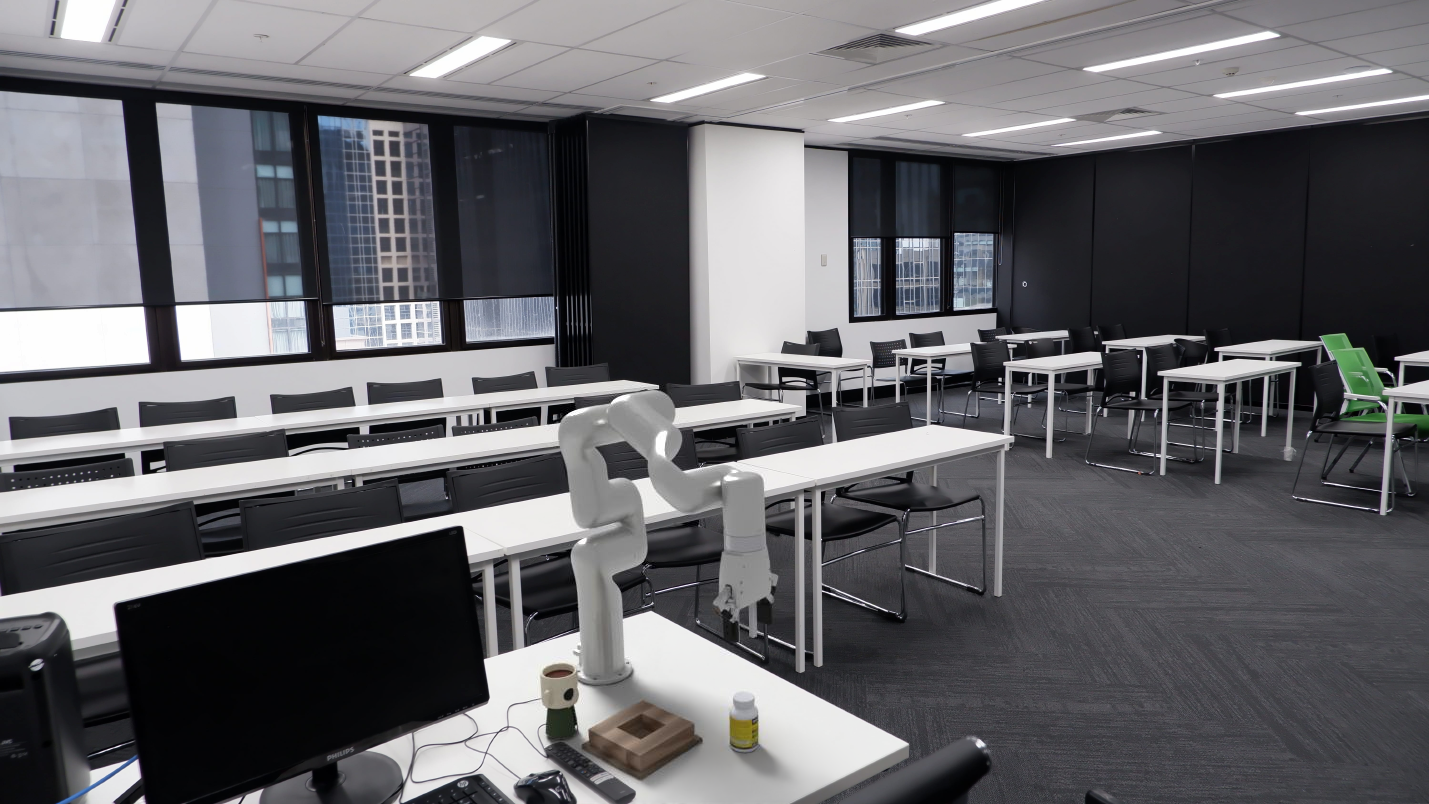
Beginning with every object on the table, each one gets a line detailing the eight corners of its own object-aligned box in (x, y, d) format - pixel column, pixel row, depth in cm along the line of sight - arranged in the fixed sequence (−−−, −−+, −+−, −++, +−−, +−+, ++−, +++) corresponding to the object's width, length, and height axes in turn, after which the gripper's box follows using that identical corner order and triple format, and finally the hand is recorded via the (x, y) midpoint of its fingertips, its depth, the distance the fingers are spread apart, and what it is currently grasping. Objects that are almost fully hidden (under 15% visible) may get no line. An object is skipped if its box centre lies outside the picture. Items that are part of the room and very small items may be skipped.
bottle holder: (581, 748, 161) (580, 729, 160) (643, 713, 172) (642, 696, 172) (640, 780, 150) (639, 760, 149) (702, 741, 162) (701, 722, 161)
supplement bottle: (756, 754, 157) (755, 704, 156) (727, 752, 158) (726, 702, 157) (760, 738, 162) (760, 690, 161) (732, 736, 163) (731, 688, 162)
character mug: (565, 751, 160) (562, 686, 158) (531, 745, 162) (527, 681, 160) (591, 721, 170) (588, 659, 168) (558, 716, 172) (555, 655, 170)
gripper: (758, 526, 163) (761, 612, 165) (697, 550, 150) (701, 642, 152) (790, 532, 158) (793, 621, 160) (730, 557, 145) (734, 653, 148)
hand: (748, 631), depth 156 cm, fingers open, 9 cm apart
